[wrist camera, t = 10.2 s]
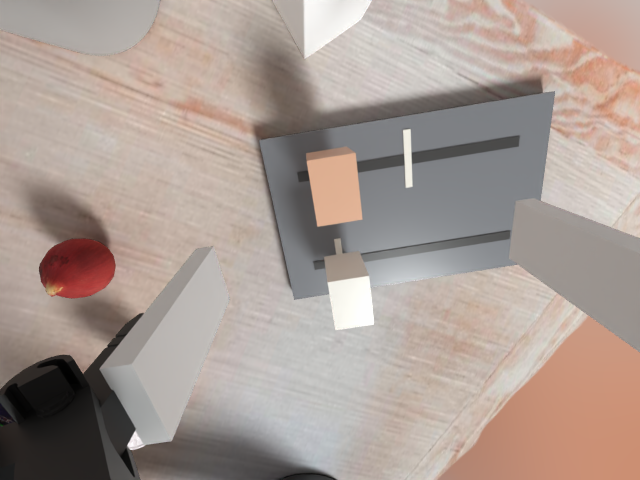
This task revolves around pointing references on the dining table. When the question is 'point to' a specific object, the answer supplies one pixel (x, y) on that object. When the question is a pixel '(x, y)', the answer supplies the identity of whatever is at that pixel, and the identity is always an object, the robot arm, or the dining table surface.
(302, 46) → the milk
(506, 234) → the console
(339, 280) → the block
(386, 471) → the dining table surface
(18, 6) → the cylinder vase
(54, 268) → the onion
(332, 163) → the fader
